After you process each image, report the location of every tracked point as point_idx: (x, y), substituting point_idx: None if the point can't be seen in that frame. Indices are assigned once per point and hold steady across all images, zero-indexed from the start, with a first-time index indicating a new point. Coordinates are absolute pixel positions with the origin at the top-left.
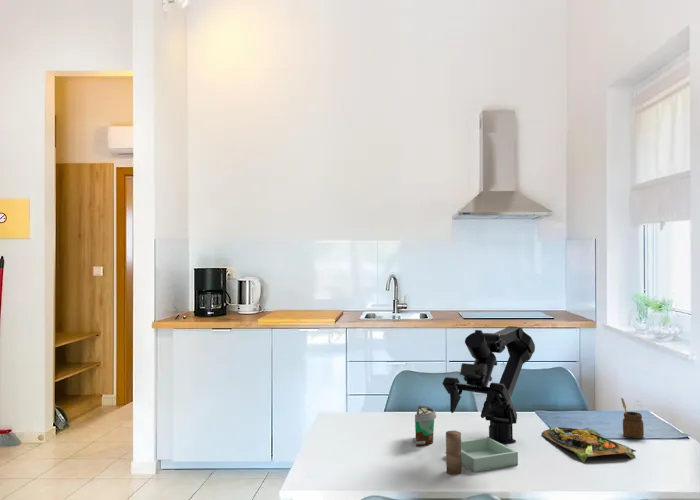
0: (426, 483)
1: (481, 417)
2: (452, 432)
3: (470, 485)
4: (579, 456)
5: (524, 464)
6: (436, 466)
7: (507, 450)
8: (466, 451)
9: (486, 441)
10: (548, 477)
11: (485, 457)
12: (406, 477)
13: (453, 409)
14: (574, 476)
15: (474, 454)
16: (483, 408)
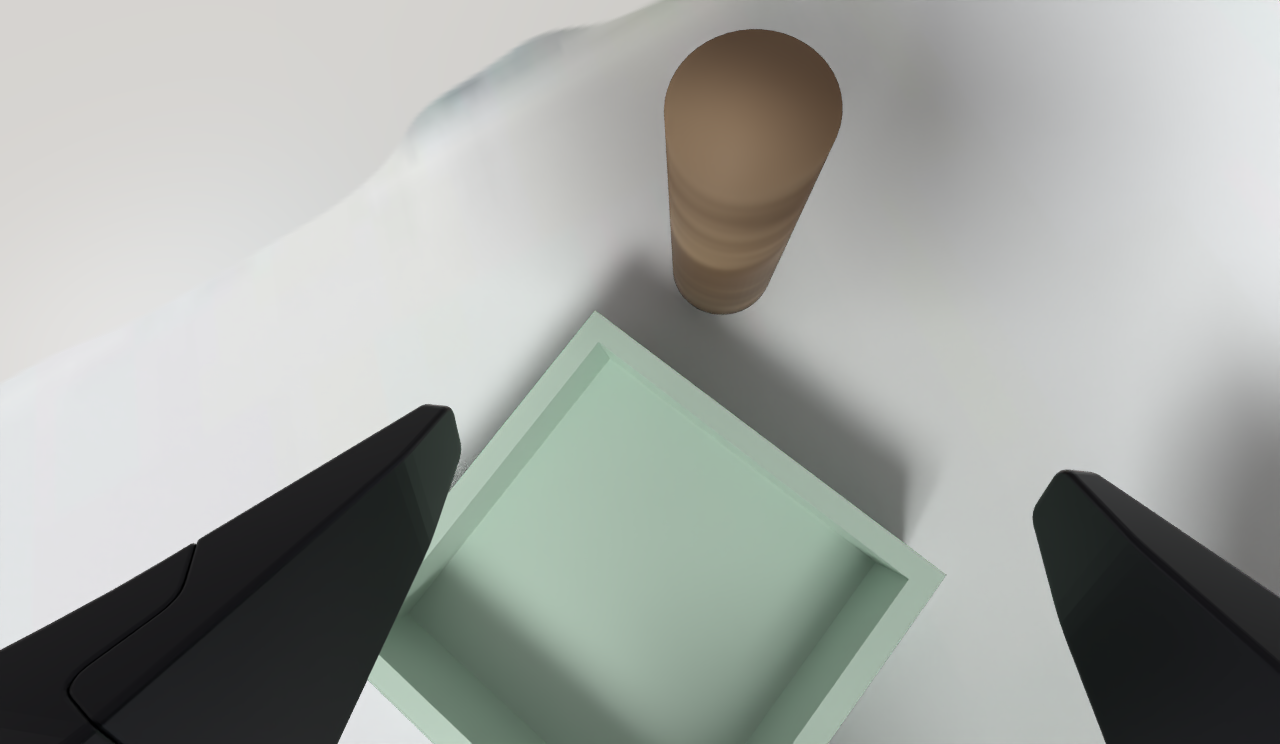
0: (794, 36)
1: (452, 428)
2: (768, 118)
3: (562, 137)
4: None
5: None
6: (869, 303)
7: (431, 690)
8: (795, 678)
9: None
10: (180, 482)
11: (531, 392)
12: (943, 49)
13: (1073, 550)
14: (39, 580)
15: (717, 651)
16: (341, 488)
